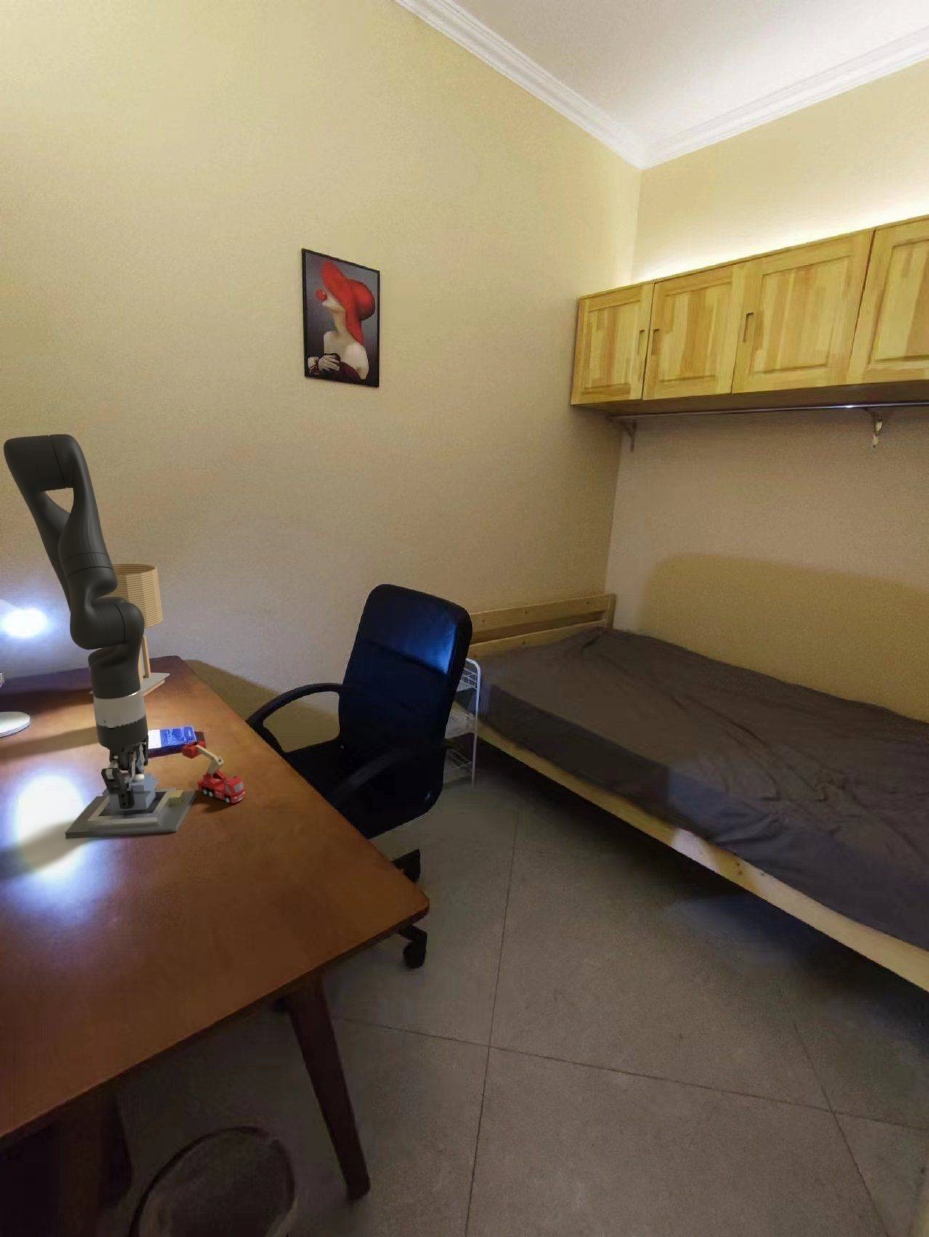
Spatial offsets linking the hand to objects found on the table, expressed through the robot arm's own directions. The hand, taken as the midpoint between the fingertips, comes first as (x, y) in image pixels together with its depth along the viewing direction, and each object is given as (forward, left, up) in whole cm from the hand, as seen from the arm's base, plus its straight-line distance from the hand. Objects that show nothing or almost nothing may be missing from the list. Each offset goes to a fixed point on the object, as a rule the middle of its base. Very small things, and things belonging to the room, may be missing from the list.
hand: (132, 799), depth 100 cm
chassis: (0, 0, -3) cm, 3 cm away
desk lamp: (-62, -25, -4) cm, 68 cm away
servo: (0, 0, -1) cm, 1 cm away
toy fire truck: (-6, +13, -4) cm, 15 cm away
